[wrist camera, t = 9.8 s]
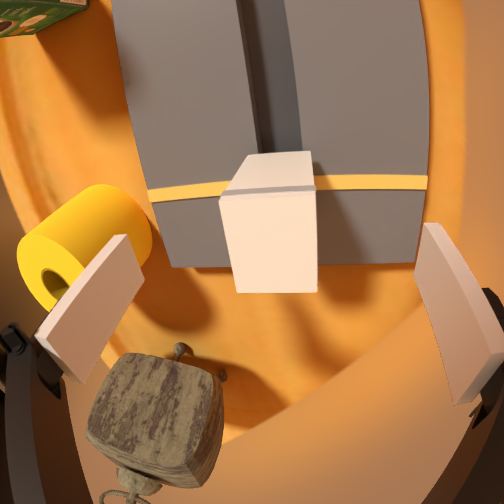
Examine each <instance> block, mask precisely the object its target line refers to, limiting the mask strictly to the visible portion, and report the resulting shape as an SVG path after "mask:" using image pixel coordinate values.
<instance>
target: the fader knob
mask: <svg viewBox="0 0 504 504" xmlns="http://www.w3.org/2000/svg"><path fill="white" fill-rule="evenodd" d="M218 202H219V207H220V212H221V217H222V222H223V227H224V232H225V237H226V242H227V247H228V252H229V256H230V261H231V266H232V271H233V276H234V280H235V285H236V290H237V293H305V292H317V286H318V228H317V199H316V185H314V177H313V168H312V160H311V151H295V152H278V153H265V154H252V155H248V156H247V157H246V159H245V160H244V162H243V163H242V165H241V166H240V168H239V169H238V171H237V173H236V174H235V176H234V177H233V179H232V180H231V182H230V184H229V185H228V187H227V188H226V190H224V191H223V192H222V193H221V195H220V200H219V201H218Z"/></svg>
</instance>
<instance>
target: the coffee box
mask: <svg viewBox="0 0 504 504" xmlns="http://www.w3.org/2000/svg"><path fill="white" fill-rule="evenodd" d="M88 7H89V4H88V0H0V38H2V37H11V36H21V35H33V34H35V33H37V32H39V31H41V30H43V29H45V28H47V27H48V26H50V25H52V24H54V23H56V22H58V21H60V20H62V19H64V18H66V17H69V16H71V15H73V14H75V13H77V12H80V11H82V10H85V9H87V8H88Z"/></svg>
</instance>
